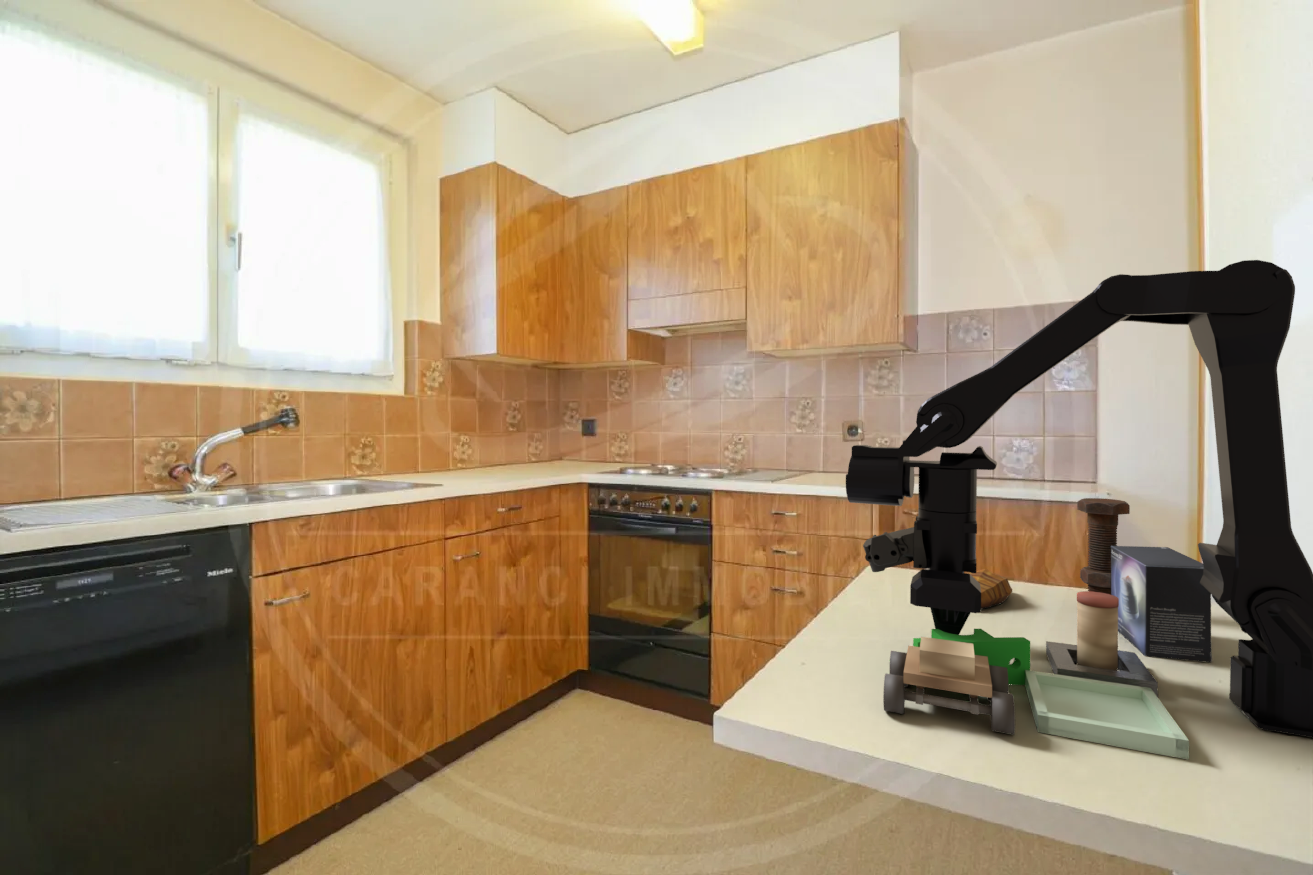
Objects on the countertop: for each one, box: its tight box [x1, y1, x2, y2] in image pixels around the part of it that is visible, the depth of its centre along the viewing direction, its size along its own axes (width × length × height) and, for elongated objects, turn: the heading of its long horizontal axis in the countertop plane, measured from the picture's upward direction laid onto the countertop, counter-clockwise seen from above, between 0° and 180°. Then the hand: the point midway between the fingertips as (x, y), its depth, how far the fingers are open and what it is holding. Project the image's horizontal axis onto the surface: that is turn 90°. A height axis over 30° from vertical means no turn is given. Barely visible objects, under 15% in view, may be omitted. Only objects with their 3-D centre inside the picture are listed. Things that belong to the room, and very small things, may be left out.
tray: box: [1024, 669, 1190, 760], centre depth 54 cm, size 10×10×2 cm
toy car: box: [882, 636, 1016, 736], centre depth 56 cm, size 10×9×6 cm
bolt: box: [1076, 497, 1131, 595], centre depth 83 cm, size 6×5×15 cm
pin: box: [1076, 590, 1119, 671], centre depth 63 cm, size 4×4×8 cm
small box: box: [1111, 545, 1213, 663], centre depth 71 cm, size 11×6×10 cm, turn 161°
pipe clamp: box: [912, 628, 1031, 686], centre depth 62 cm, size 11×4×5 cm, turn 89°
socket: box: [1045, 641, 1159, 697], centre depth 63 cm, size 8×8×1 cm
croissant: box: [968, 568, 1013, 610], centre depth 87 cm, size 14×7×5 cm, turn 131°
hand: (945, 650), depth 67 cm, fingers closed
